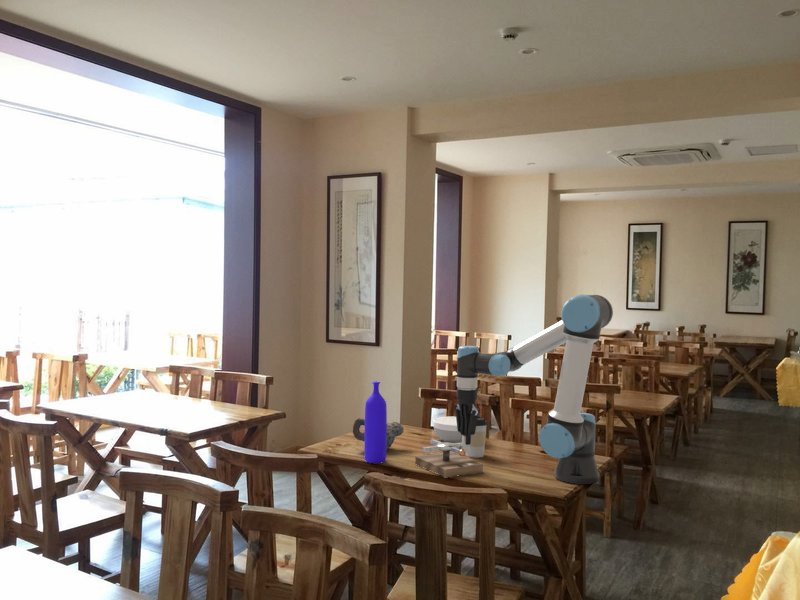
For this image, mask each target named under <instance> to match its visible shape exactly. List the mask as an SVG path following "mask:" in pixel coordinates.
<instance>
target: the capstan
mask: <svg viewBox="0 0 800 600" xmlns="http://www.w3.org/2000/svg"><path fill="white" fill-rule="evenodd" d="M430 445H431V446H423V447H422V452H423V453H429V452H435V451H436V452H437V451H441V452H443V451H450V452H453V453H456V454H458V455H460V456H464V457H465V456H466V454H465V453H466V452H465V450H463V449H462V442H461V443H445V442H443V441H439V440H437V439H430Z"/></svg>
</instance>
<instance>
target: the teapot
mask: <svg viewBox="0 0 800 600" xmlns="http://www.w3.org/2000/svg"><path fill="white" fill-rule="evenodd" d="M361 426H364V427H365V417H358V418H356V419H354V422H353V426H352V434H353V436H354V438H355V439H356V440H357V441H361V442H364V439H365V431H364V432H363V431H362V432H361V431H360V428H361ZM404 431H405V428H404V426H403V425H402V424H401V423H400V422H398V421H391V422H387V438H386V450H388V449H389V448H391V447H392V444H393V443H394V442H395V439H396V438H397V437H399V436H400V437H401V435H402V434H403V433H404Z"/></svg>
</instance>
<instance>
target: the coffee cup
mask: <svg viewBox="0 0 800 600" xmlns="http://www.w3.org/2000/svg"><path fill="white" fill-rule="evenodd" d="M487 425H488V421H487V420H485V418H484V417H481V416H479V415H478V419H477V425H476V430H475V434H474V435H471V444H470V453H466V454H465V457H467V458H483V457H485V456H484V455H485V447H486V439H487Z"/></svg>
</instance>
